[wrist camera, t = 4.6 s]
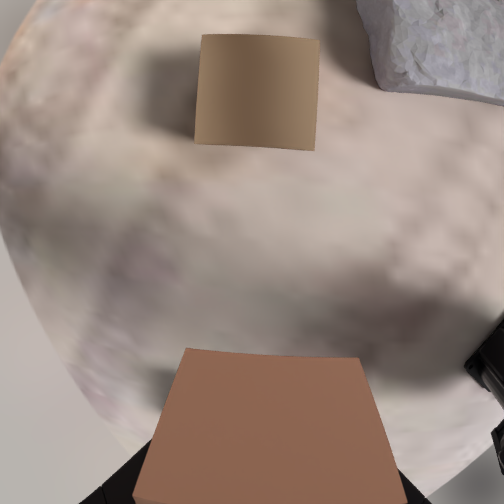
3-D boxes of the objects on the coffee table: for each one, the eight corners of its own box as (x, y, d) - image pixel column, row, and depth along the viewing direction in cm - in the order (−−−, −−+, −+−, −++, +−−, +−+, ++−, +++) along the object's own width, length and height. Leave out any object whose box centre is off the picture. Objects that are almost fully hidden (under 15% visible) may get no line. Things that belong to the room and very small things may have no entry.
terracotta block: (358, 357, 9) (407, 502, 4) (326, 456, 10) (339, 567, 6) (186, 347, 9) (132, 495, 4) (194, 449, 10) (170, 561, 6)
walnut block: (306, 67, 16) (319, 40, 11) (301, 150, 18) (314, 150, 13) (218, 62, 16) (202, 34, 11) (213, 144, 18) (194, 143, 13)
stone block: (339, -19, 15) (372, 106, 16) (353, -62, 11) (405, 75, 12) (474, 7, 15) (512, 118, 16) (503, -20, 10) (554, 104, 11)
